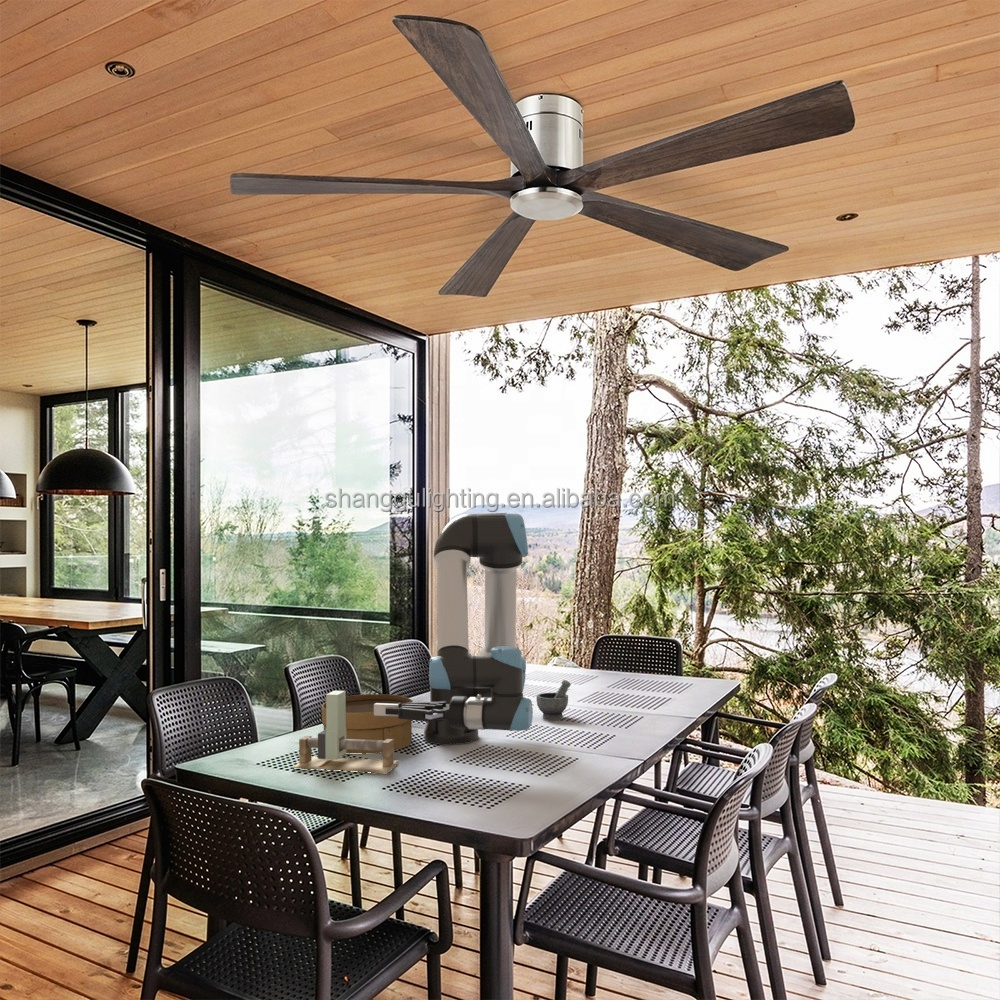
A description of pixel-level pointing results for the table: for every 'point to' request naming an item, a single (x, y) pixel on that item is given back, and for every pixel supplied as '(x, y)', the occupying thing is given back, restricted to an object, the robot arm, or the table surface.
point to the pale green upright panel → (335, 724)
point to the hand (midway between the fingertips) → (375, 709)
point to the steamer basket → (374, 721)
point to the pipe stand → (349, 763)
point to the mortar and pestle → (554, 702)
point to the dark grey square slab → (321, 744)
